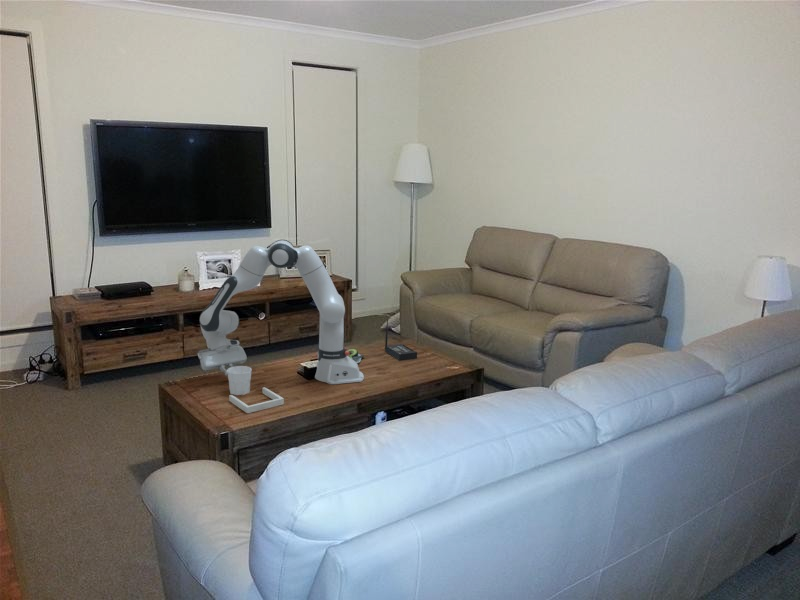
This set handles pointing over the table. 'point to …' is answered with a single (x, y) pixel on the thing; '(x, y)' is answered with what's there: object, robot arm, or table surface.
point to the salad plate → (355, 355)
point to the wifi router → (399, 350)
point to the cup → (239, 379)
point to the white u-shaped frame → (260, 406)
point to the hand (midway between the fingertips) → (229, 374)
